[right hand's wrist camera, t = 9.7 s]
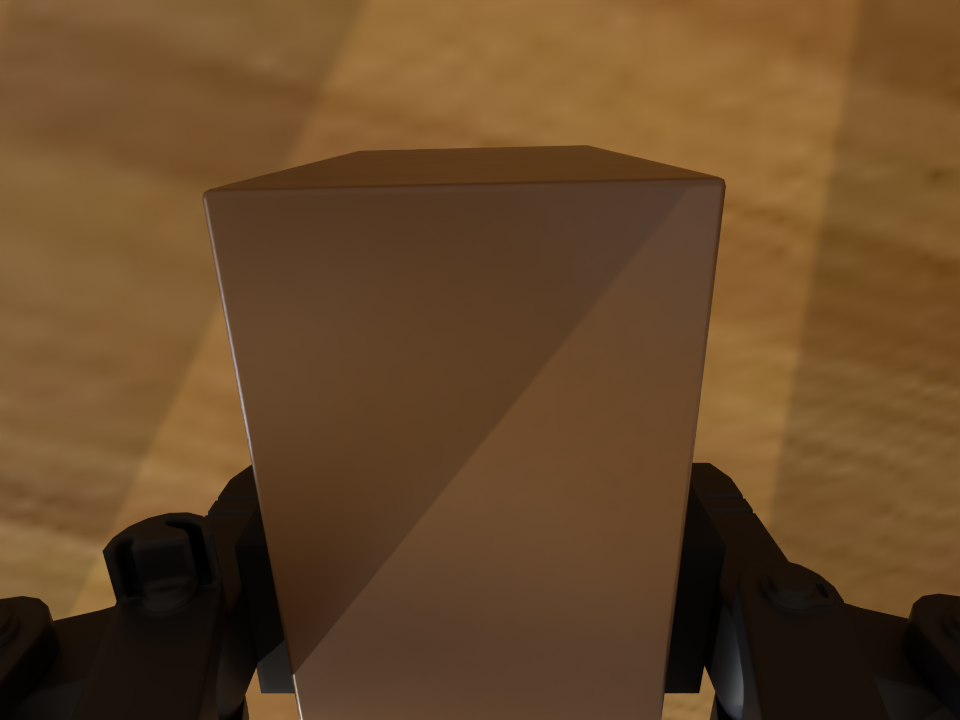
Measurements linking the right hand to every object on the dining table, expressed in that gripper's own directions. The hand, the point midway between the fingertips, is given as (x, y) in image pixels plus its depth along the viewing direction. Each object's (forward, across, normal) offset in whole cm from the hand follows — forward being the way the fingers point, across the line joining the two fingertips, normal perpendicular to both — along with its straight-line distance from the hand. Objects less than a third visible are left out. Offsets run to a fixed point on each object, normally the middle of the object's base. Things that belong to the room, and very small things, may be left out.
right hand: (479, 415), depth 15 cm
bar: (+1, +1, -27) cm, 27 cm away
